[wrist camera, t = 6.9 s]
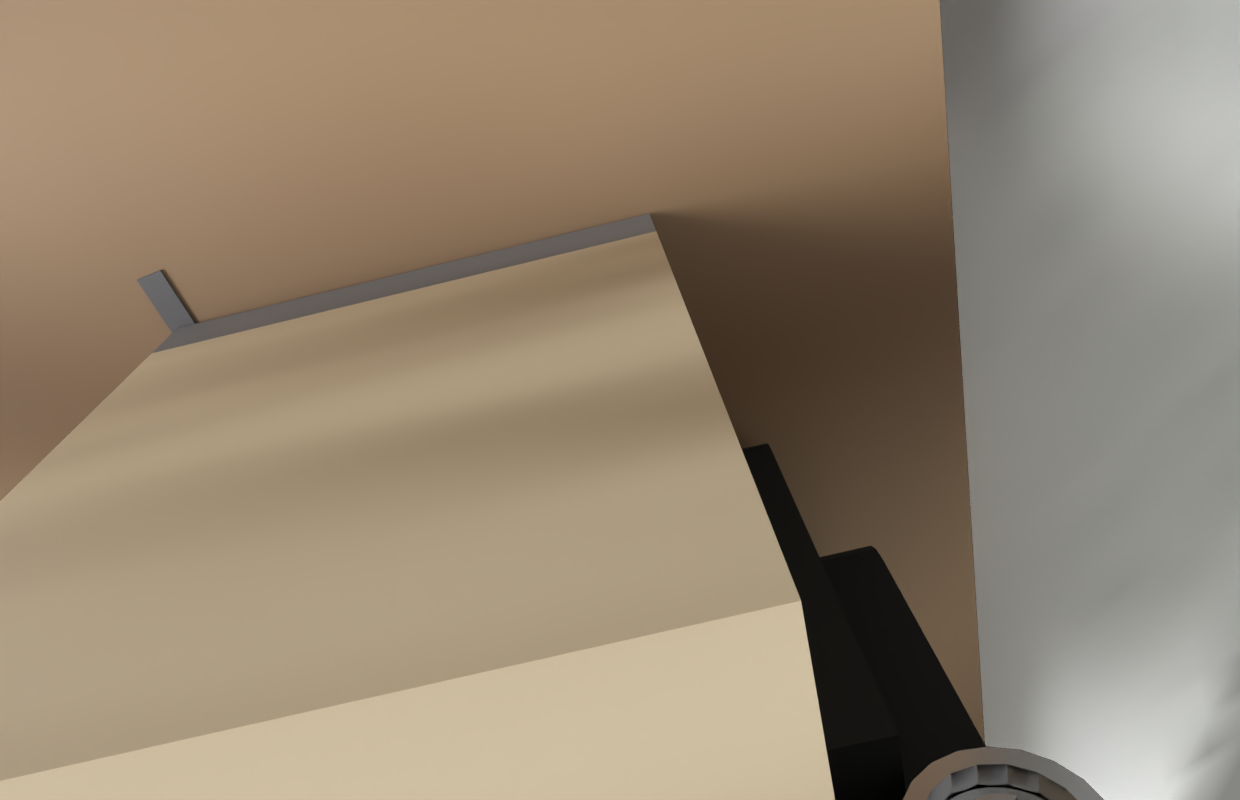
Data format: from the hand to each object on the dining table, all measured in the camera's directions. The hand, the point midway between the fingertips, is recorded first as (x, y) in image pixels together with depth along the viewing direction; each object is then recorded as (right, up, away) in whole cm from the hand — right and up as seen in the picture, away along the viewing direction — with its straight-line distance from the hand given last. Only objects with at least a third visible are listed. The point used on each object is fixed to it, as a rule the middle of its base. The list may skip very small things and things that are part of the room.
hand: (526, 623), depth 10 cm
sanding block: (0, 0, 0) cm, 0 cm away
